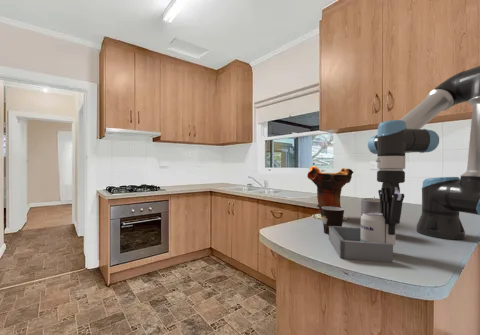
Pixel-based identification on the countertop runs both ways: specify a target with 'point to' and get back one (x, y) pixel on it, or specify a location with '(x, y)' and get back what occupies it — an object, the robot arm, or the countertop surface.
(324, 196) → the decorative vase
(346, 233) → the box
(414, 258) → the countertop surface
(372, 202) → the pillar candle
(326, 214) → the coffee mug
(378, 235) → the beverage can
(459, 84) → the robot arm
